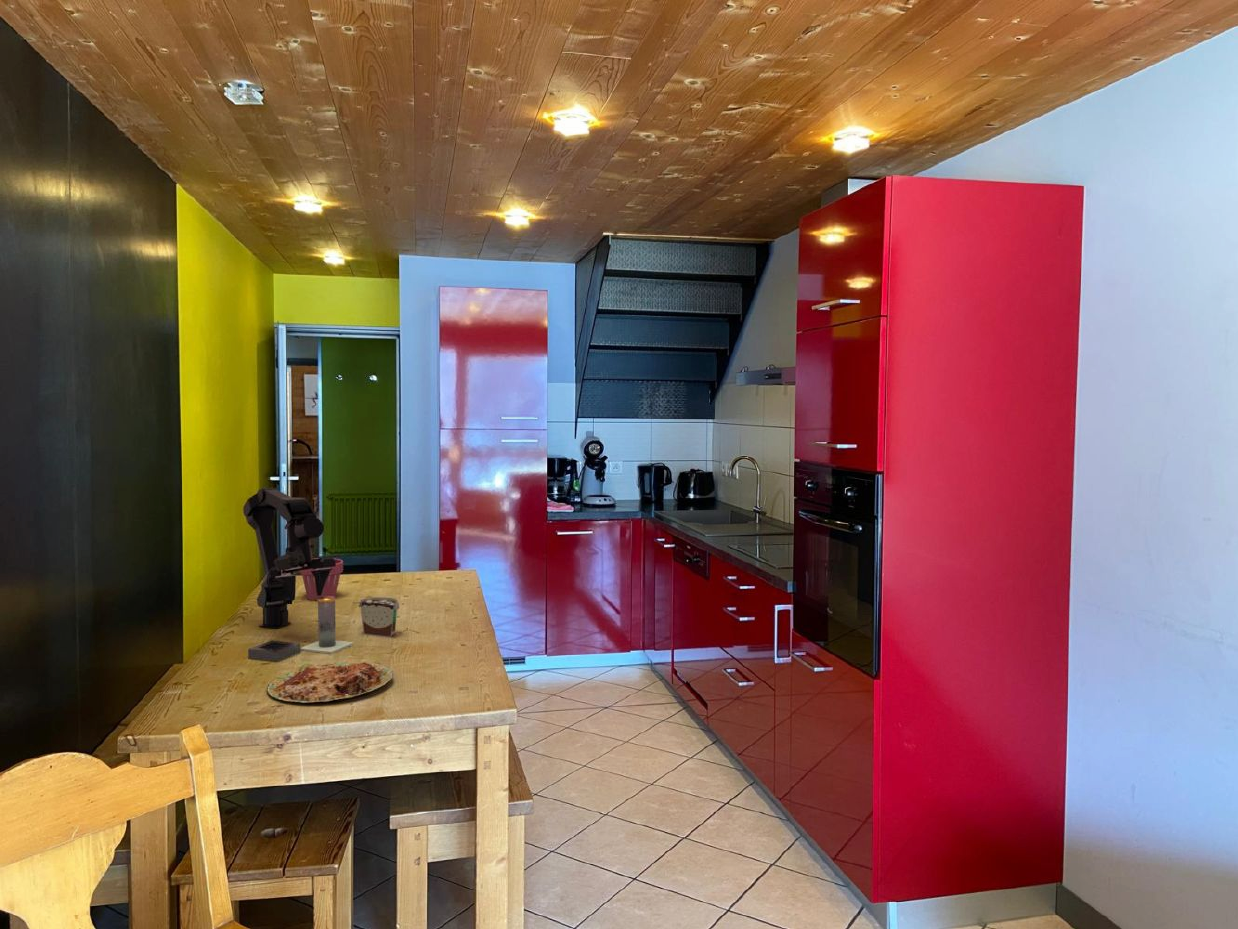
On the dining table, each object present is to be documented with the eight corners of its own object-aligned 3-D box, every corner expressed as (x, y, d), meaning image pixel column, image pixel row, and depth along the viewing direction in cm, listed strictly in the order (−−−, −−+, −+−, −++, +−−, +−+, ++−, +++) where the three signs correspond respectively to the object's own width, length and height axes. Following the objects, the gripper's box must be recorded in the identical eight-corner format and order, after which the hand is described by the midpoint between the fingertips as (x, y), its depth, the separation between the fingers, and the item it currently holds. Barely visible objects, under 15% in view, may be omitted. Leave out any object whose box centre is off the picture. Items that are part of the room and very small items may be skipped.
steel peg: (316, 647, 228) (316, 599, 227) (320, 643, 233) (319, 596, 232) (333, 647, 229) (333, 599, 228) (337, 642, 233) (337, 595, 232)
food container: (408, 633, 247) (408, 599, 246) (395, 638, 241) (395, 603, 241) (371, 629, 251) (371, 595, 250) (359, 634, 245) (358, 599, 245)
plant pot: (352, 597, 294) (352, 560, 293) (318, 604, 282) (318, 566, 282) (324, 592, 302) (324, 556, 301) (290, 599, 290) (290, 561, 289)
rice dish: (267, 718, 181) (267, 693, 180) (265, 676, 206) (265, 654, 205) (402, 702, 192) (402, 679, 191) (384, 664, 217) (384, 643, 217)
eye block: (248, 658, 220) (248, 649, 219) (272, 649, 228) (272, 640, 228) (277, 661, 217) (277, 652, 217) (300, 652, 226) (300, 643, 225)
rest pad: (299, 650, 227) (299, 648, 227) (322, 641, 237) (322, 639, 237) (331, 654, 224) (331, 651, 224) (354, 644, 234) (354, 642, 234)
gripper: (252, 549, 236) (258, 605, 234) (306, 538, 229) (313, 596, 228) (280, 547, 246) (287, 601, 244) (333, 537, 240) (340, 592, 238)
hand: (306, 598), depth 238 cm, fingers open, 9 cm apart
